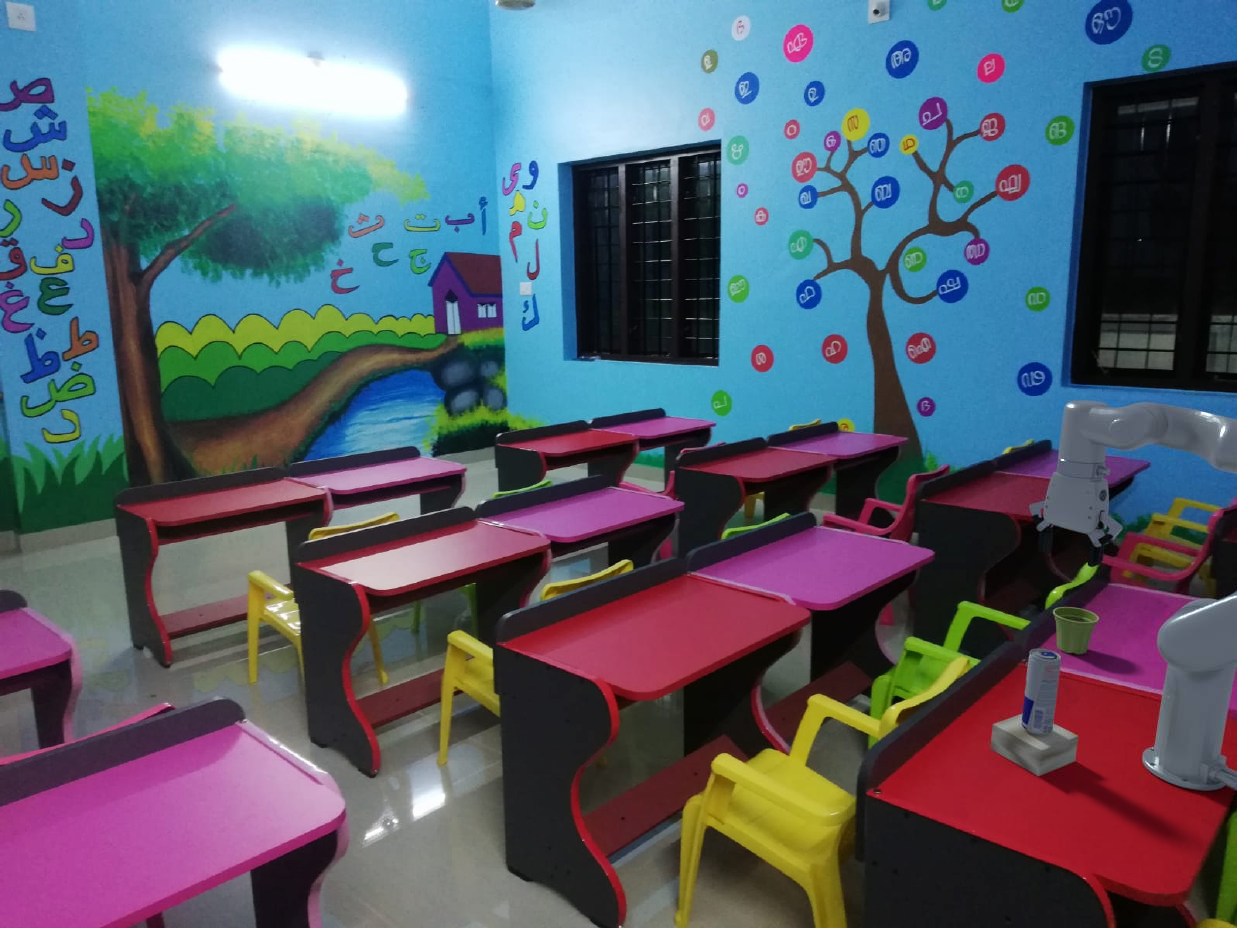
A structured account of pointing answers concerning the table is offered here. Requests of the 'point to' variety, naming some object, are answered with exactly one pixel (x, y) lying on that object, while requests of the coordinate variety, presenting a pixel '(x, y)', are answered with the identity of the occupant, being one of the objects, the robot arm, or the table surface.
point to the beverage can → (1041, 691)
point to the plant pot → (1074, 629)
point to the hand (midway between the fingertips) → (1068, 557)
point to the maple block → (1033, 746)
